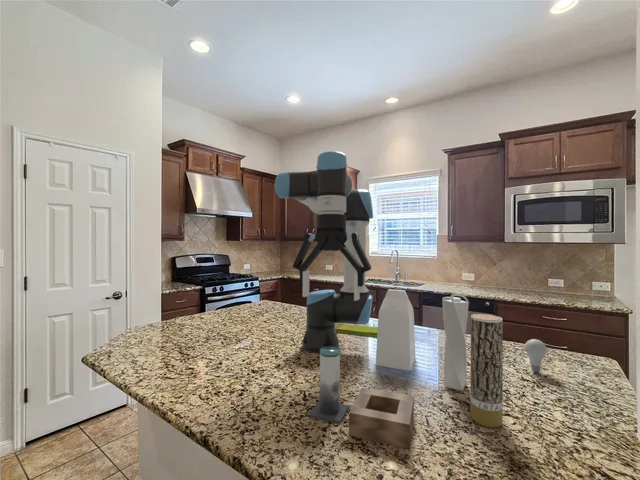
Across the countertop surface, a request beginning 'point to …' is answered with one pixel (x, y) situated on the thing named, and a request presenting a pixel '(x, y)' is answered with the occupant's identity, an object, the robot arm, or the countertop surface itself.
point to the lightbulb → (535, 353)
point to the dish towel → (356, 330)
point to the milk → (396, 332)
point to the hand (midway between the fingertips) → (330, 298)
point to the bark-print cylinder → (487, 369)
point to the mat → (331, 418)
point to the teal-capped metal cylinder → (329, 380)
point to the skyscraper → (455, 341)
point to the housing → (382, 417)
